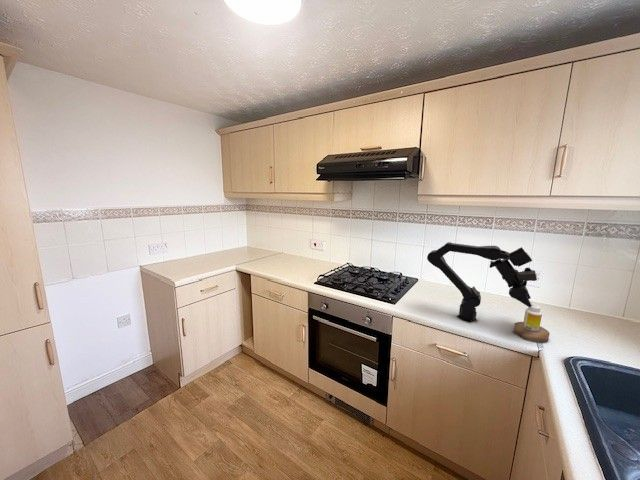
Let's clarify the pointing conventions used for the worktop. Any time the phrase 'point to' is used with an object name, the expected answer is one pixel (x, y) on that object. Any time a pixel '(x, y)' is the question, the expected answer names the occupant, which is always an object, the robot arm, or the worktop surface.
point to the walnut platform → (531, 333)
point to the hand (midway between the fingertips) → (530, 302)
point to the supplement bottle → (532, 318)
